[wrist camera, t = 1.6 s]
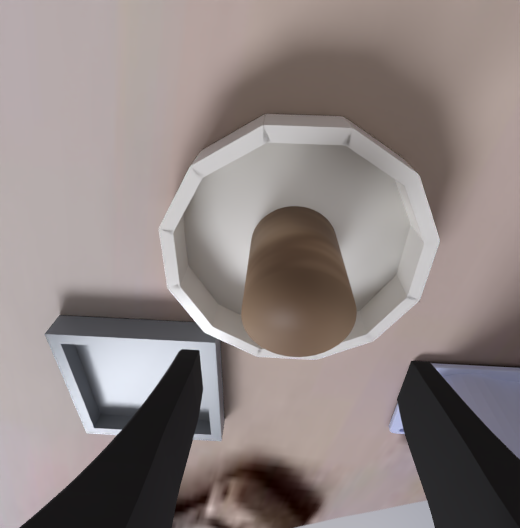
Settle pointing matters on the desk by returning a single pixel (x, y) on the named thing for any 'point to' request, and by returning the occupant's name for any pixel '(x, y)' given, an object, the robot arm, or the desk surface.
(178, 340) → the tray
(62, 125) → the desk surface
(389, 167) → the bowl
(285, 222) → the cylinder
